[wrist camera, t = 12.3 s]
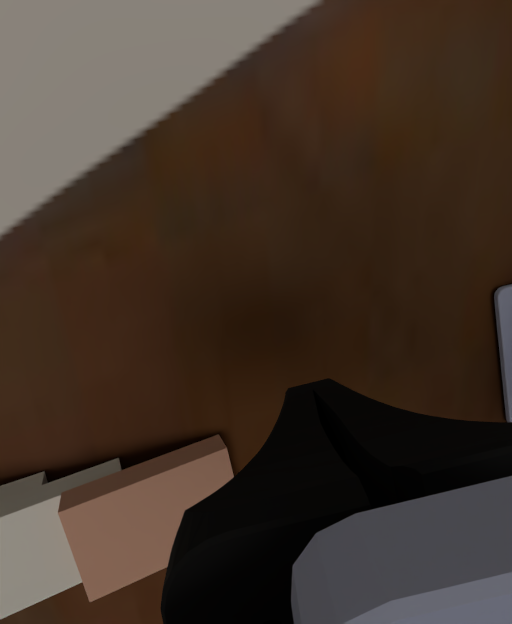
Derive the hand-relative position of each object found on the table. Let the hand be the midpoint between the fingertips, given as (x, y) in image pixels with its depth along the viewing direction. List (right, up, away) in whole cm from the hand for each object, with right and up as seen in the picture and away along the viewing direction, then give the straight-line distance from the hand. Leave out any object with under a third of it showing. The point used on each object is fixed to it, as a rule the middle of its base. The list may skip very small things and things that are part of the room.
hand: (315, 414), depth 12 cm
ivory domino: (-8, -7, +10) cm, 15 cm away
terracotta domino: (-3, -6, +10) cm, 12 cm away
